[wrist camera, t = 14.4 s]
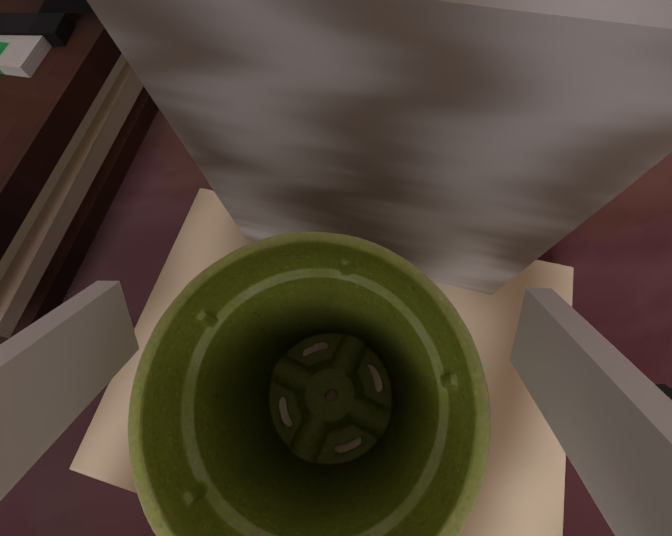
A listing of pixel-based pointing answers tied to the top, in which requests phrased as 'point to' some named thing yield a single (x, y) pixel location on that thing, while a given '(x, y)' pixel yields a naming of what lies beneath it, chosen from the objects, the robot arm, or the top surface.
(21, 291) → the decorative book
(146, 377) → the plant pot
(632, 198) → the top surface
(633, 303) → the top surface
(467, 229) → the shelf board
